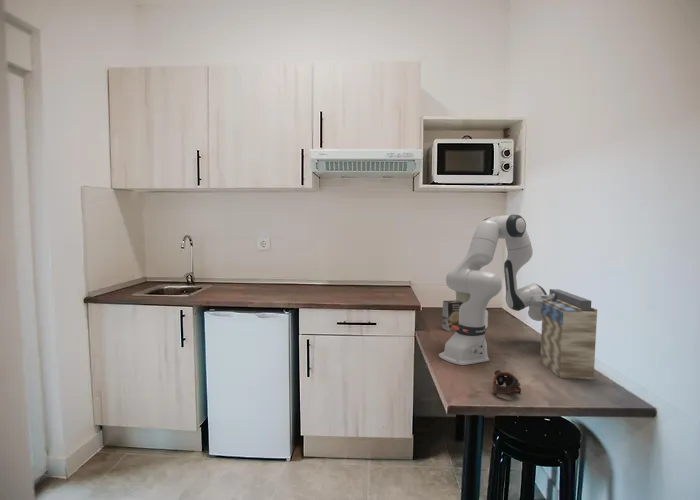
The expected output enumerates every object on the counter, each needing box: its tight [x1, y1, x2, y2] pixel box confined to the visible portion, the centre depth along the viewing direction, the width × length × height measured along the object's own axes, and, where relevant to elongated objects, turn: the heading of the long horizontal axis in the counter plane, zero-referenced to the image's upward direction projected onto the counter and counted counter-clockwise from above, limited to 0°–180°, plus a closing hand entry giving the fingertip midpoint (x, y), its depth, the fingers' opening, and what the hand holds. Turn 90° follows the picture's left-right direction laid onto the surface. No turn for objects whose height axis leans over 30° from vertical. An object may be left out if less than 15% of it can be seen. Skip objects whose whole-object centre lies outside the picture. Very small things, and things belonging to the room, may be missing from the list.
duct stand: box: [539, 299, 598, 380], centre depth 148 cm, size 18×13×27 cm
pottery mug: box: [492, 369, 522, 395], centre depth 128 cm, size 12×10×8 cm
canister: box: [455, 291, 470, 303], centre depth 240 cm, size 18×18×21 cm
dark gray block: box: [548, 288, 592, 311], centre depth 152 cm, size 26×4×4 cm, turn 175°
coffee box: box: [441, 299, 463, 332], centre depth 206 cm, size 9×6×16 cm
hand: (561, 295), depth 158 cm, fingers closed on dark gray block, 4 cm apart
